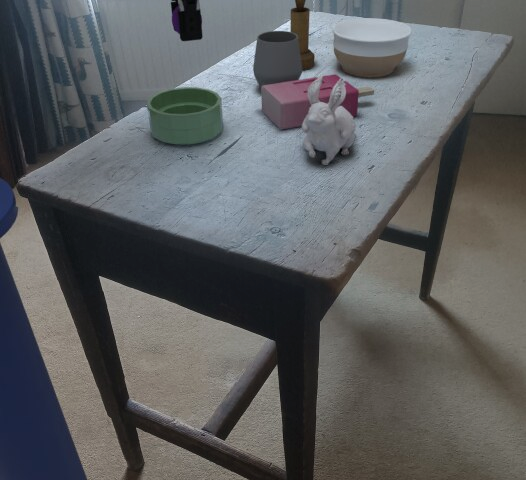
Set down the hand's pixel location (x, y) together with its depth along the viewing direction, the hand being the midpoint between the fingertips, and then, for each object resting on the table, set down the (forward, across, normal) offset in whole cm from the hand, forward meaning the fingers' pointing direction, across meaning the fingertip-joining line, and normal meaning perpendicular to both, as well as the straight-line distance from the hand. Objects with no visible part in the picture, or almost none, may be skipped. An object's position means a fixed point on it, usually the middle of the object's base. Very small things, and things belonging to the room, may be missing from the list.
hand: (187, 33), depth 86 cm
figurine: (+18, +10, +20) cm, 28 cm away
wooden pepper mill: (+18, -31, +29) cm, 46 cm away
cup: (+18, -18, +20) cm, 32 cm away
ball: (-2, 0, 0) cm, 2 cm away
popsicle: (+18, -6, +24) cm, 30 cm away
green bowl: (+17, -5, -1) cm, 18 cm away
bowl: (+18, -24, +42) cm, 51 cm away
